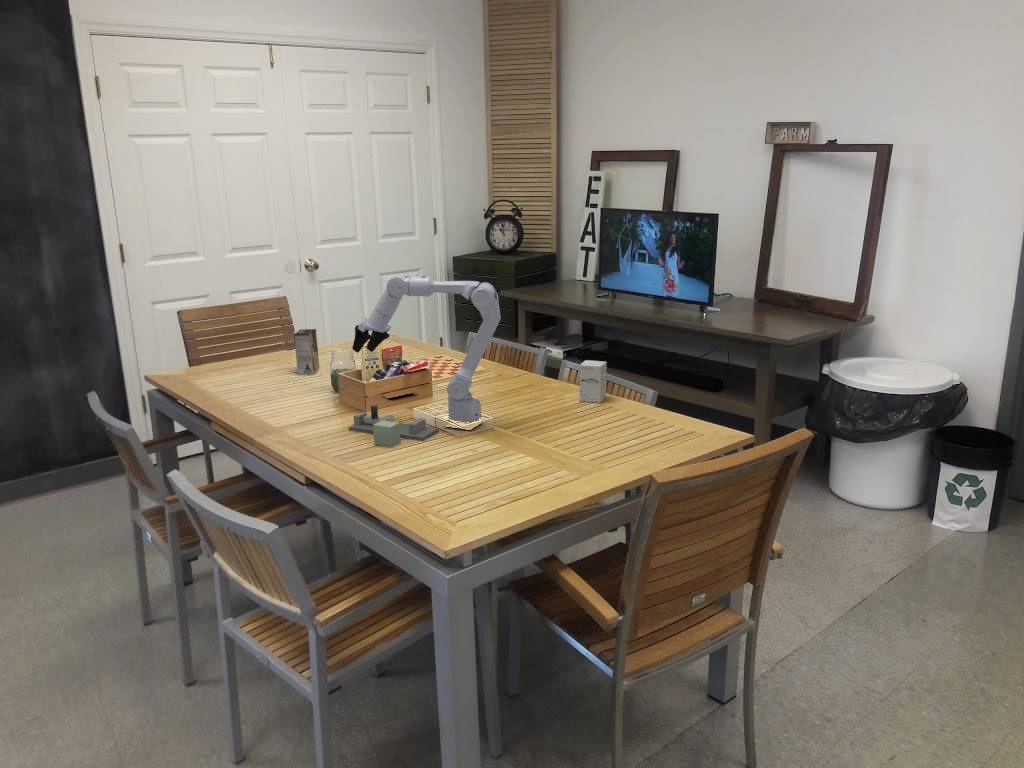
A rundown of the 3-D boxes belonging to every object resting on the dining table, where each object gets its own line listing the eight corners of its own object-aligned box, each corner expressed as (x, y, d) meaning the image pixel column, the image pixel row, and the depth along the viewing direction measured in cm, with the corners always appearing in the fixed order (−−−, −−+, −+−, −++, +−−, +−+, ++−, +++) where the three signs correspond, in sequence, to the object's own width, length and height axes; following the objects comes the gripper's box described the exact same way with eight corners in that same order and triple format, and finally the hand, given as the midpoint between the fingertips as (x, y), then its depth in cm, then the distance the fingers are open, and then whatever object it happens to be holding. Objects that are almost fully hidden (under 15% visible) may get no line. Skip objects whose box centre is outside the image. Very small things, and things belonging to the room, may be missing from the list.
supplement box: (578, 401, 270) (578, 364, 266) (585, 395, 276) (585, 359, 273) (600, 403, 267) (600, 366, 263) (606, 397, 273) (606, 360, 270)
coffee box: (303, 369, 319) (299, 329, 315) (320, 369, 319) (316, 328, 315) (297, 375, 310) (293, 334, 306) (314, 375, 310) (310, 333, 306)
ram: (394, 423, 248) (393, 405, 246) (383, 429, 243) (382, 410, 241) (369, 419, 252) (368, 402, 250) (358, 425, 246) (357, 407, 245)
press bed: (438, 431, 243) (438, 418, 242) (422, 440, 236) (422, 427, 235) (366, 421, 254) (365, 409, 253) (349, 430, 246) (348, 417, 245)
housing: (400, 442, 235) (399, 422, 233) (392, 447, 231) (390, 427, 230) (383, 439, 238) (381, 420, 236) (374, 444, 234) (372, 424, 232)
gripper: (386, 305, 248) (365, 342, 252) (360, 304, 235) (338, 343, 239) (403, 318, 246) (382, 355, 250) (377, 317, 233) (355, 356, 237)
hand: (362, 350), depth 244 cm, fingers open, 7 cm apart
